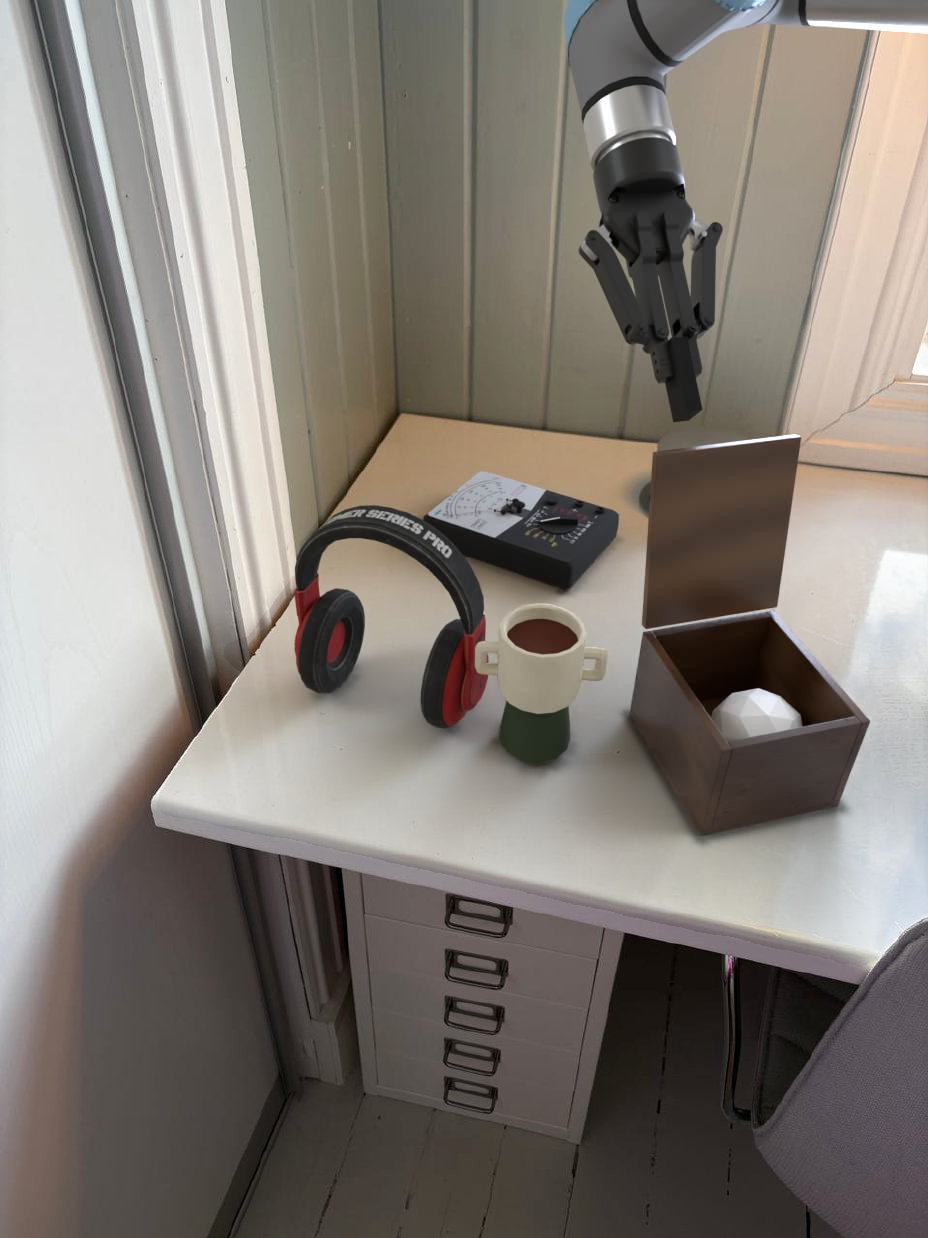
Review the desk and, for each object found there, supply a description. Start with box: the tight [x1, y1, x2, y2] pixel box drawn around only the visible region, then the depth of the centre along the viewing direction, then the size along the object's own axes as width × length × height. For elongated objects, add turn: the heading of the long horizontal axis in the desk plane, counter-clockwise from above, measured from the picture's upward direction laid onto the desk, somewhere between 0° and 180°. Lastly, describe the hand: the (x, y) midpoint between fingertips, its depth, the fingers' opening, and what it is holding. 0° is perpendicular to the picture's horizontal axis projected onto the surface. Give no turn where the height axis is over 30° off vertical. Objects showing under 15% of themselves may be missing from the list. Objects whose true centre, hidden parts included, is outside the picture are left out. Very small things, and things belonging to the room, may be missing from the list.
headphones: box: [293, 504, 490, 730], centre depth 81 cm, size 18×10×20 cm, turn 68°
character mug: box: [475, 602, 609, 765], centre depth 79 cm, size 11×7×13 cm, turn 86°
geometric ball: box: [711, 688, 802, 742], centre depth 77 cm, size 8×8×8 cm
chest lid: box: [641, 433, 802, 630], centre depth 77 cm, size 16×13×1 cm
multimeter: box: [422, 470, 620, 590], centre depth 107 cm, size 13×19×5 cm
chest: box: [629, 610, 871, 836], centre depth 79 cm, size 15×13×10 cm
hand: (687, 415), depth 79 cm, fingers closed
